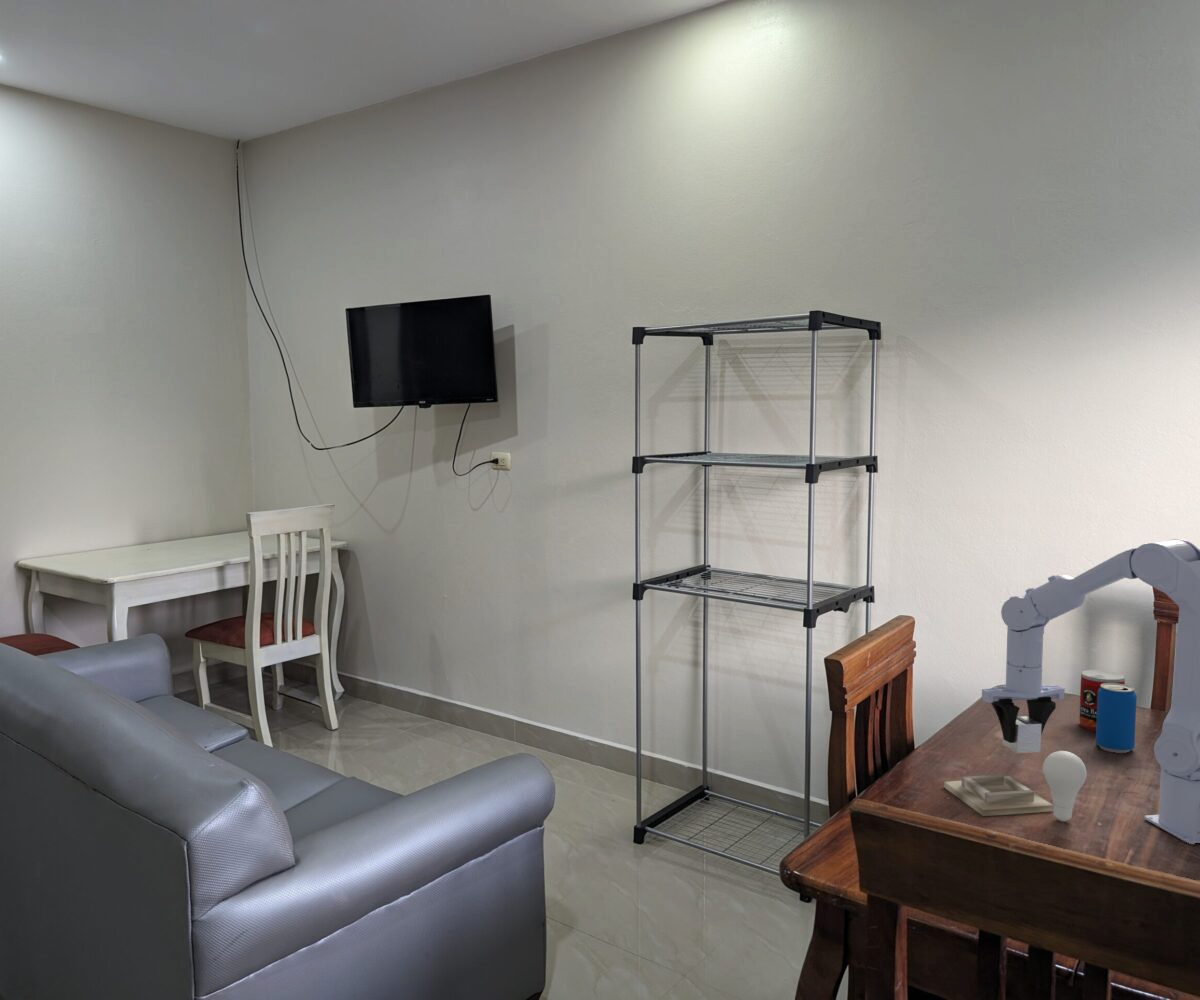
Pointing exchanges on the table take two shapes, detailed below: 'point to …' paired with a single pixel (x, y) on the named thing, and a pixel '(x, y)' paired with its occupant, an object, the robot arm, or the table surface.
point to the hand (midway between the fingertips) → (1021, 740)
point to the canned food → (1094, 694)
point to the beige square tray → (997, 795)
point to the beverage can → (1116, 717)
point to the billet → (1026, 736)
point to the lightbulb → (1064, 781)
